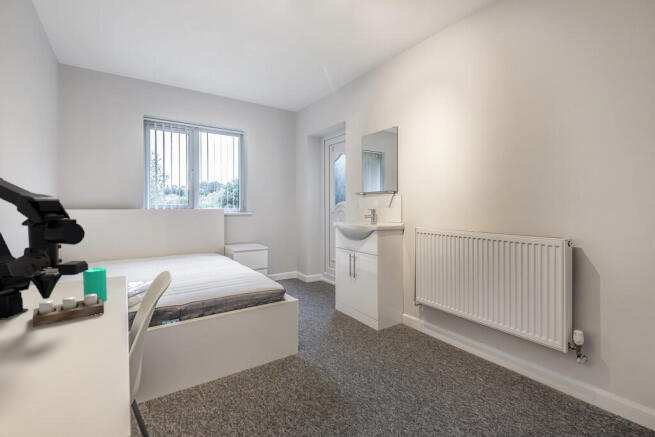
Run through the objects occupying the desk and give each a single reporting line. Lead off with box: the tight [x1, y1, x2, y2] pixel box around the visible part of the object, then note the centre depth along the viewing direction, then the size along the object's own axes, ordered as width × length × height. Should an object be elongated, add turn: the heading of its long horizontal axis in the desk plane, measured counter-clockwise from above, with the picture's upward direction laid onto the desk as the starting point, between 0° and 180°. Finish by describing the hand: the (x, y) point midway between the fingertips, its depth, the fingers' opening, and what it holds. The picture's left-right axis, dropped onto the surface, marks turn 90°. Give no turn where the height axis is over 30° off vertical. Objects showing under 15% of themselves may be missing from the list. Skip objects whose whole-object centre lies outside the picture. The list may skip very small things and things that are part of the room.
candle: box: [82, 264, 108, 303], centre depth 98 cm, size 6×6×12 cm
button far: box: [83, 294, 97, 306], centre depth 89 cm, size 3×3×3 cm
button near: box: [38, 300, 55, 314], centre depth 83 cm, size 3×3×3 cm
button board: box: [32, 298, 105, 328], centre depth 86 cm, size 15×8×3 cm, turn 132°
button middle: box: [62, 296, 77, 310], centre depth 86 cm, size 3×3×3 cm
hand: (46, 298), depth 83 cm, fingers closed
